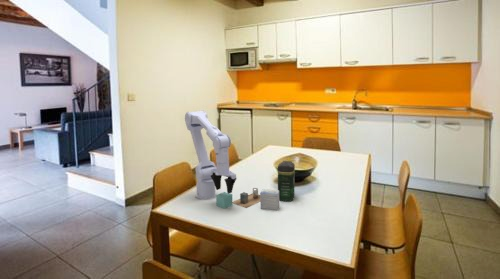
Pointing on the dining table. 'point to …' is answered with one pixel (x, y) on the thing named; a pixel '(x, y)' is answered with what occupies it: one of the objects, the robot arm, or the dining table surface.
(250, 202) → the stand plate
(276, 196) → the medicine box
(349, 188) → the dining table surface
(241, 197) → the square post
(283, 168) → the coffee jar
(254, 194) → the round post
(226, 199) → the teal foam brick
